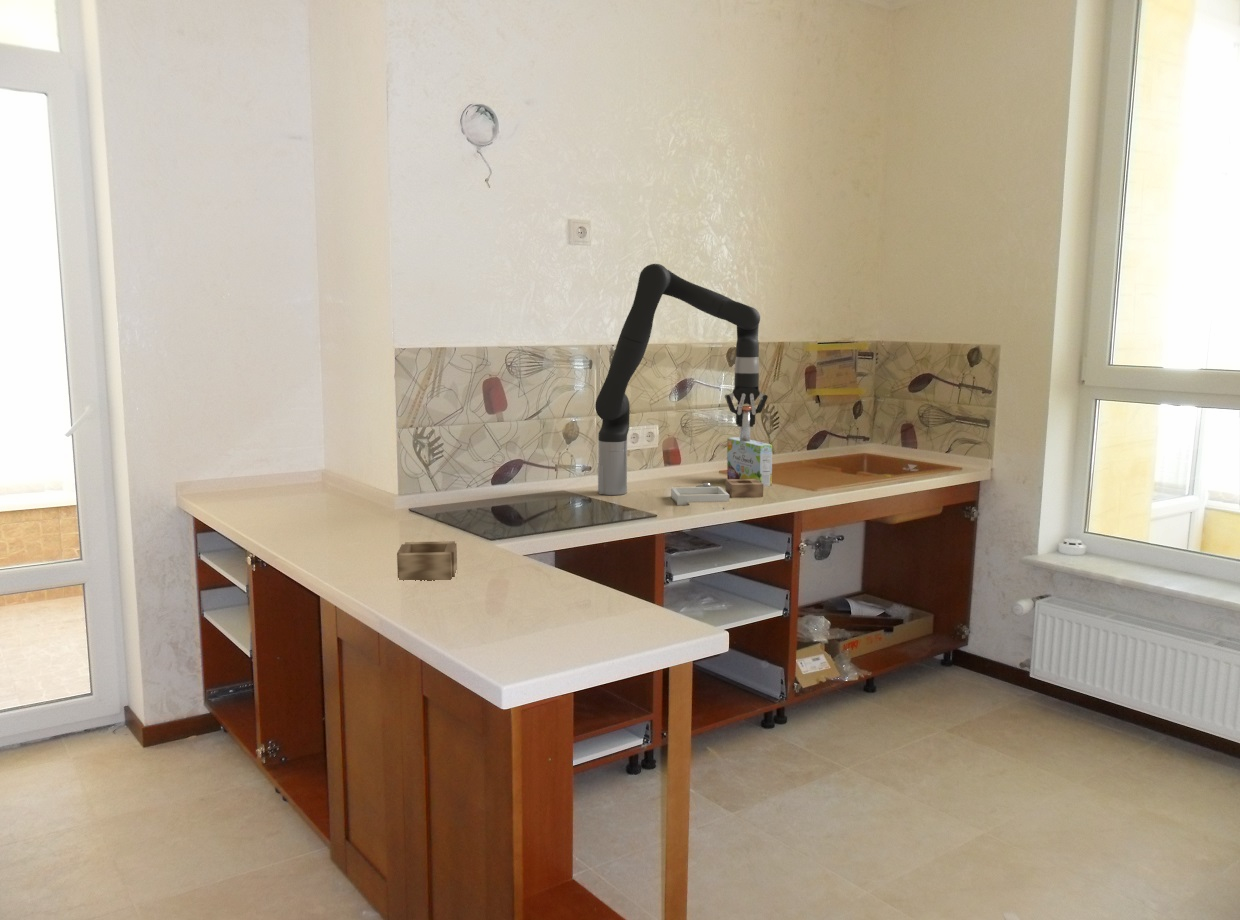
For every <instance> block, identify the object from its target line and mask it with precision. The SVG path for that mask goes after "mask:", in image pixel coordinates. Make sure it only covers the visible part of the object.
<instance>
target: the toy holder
mask: <svg viewBox="0 0 1240 920" xmlns="http://www.w3.org/2000/svg"><path fill="white" fill-rule="evenodd" d="M457 546H458V545H457V542H456V541H455V540H454V541H453V540H450V541H449V540H447V541H445V540H443V541H405V542H404V543H403V544H401V545H400V547H399V549H398V550H397V552H396V558H397V559H396V564H397V567H396V568H397V579H398V578H399V580H403V581H404V580H415V581H416V580H420V581H422V580H424V581H425V580H427V581H432V580H433V581H435V580H451V579H452V577H455V573H456V570H457V571H458V554H457V553H458V550H457V549H458V548H457Z"/></svg>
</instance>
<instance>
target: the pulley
mask: <svg viewBox="0 0 1240 920" xmlns="http://www.w3.org/2000/svg"><path fill="white" fill-rule="evenodd" d="M695 487H718V486H716V485H711V482H703V483H702V484H701V485H700V484H699V485H696V486H695Z"/></svg>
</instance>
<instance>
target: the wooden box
mask: <svg viewBox="0 0 1240 920" xmlns="http://www.w3.org/2000/svg"><path fill="white" fill-rule="evenodd" d="M724 490H725V491H726V492H727V493H728V494H729V497H730V498H734V499H735V498H764V486H763V484H762V483H761V482H760V481H758V480H757V479H727V478H725V489H724Z"/></svg>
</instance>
